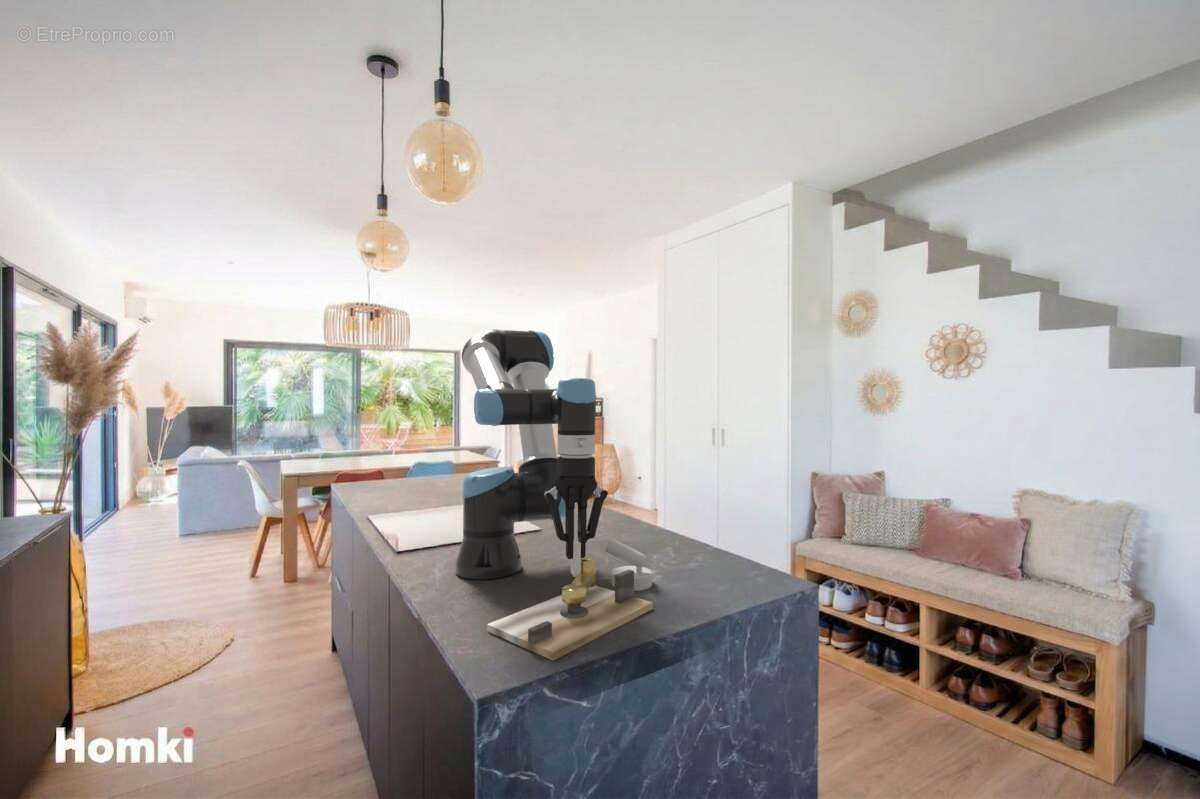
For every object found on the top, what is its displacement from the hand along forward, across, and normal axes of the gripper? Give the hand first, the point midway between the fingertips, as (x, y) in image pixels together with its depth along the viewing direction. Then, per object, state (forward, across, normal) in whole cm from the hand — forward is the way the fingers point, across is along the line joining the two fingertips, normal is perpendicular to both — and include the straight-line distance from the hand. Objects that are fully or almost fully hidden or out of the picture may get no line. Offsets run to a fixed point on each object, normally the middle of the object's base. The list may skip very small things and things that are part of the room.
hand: (575, 574), depth 104 cm
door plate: (+5, -3, -10) cm, 12 cm away
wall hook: (+5, +13, +5) cm, 14 cm away
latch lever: (+2, 0, -6) cm, 6 cm away
